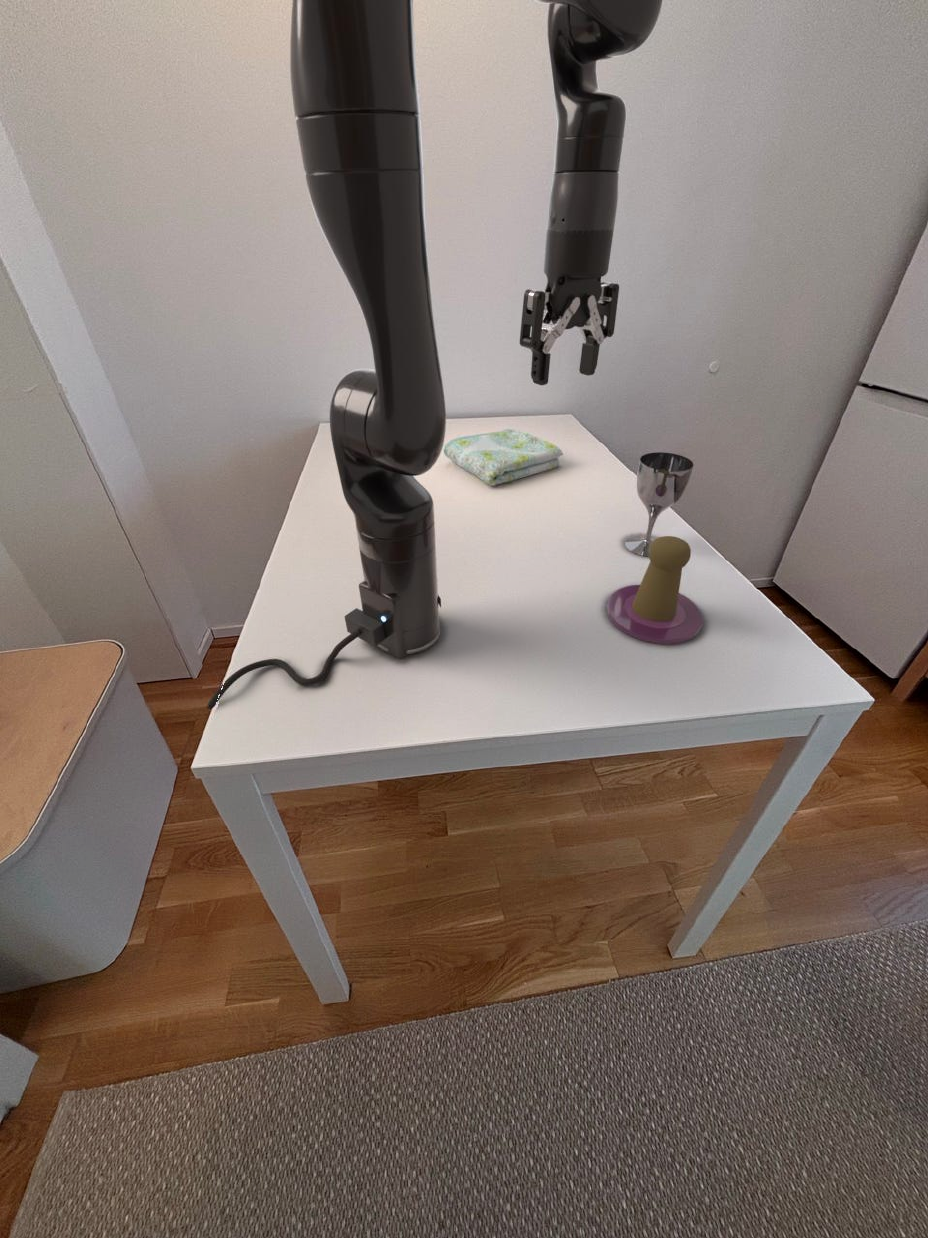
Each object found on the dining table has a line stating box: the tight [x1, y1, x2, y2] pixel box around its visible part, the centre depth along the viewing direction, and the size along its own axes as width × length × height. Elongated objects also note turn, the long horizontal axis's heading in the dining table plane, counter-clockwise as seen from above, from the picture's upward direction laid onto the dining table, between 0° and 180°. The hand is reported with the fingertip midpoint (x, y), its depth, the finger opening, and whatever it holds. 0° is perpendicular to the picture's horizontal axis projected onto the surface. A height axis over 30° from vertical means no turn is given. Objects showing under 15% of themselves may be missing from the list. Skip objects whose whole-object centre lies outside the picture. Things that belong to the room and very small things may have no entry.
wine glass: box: [624, 451, 694, 558], centre depth 85 cm, size 8×8×15 cm
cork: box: [632, 535, 692, 622], centre depth 70 cm, size 6×6×11 cm
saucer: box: [606, 584, 704, 645], centre depth 74 cm, size 13×13×1 cm
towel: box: [443, 428, 564, 487], centre depth 116 cm, size 18×21×5 cm
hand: (564, 378), depth 69 cm, fingers open, 8 cm apart
